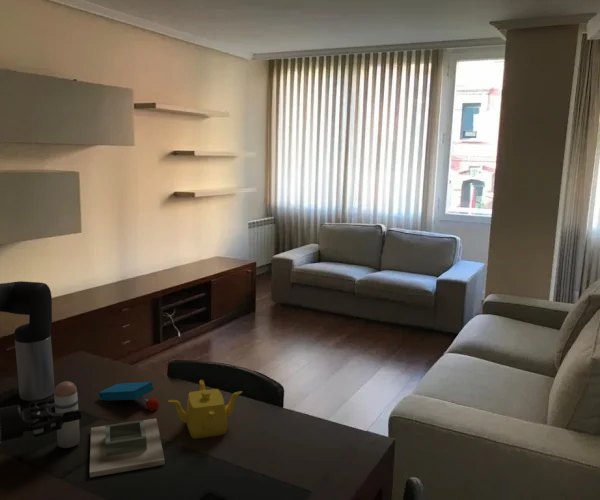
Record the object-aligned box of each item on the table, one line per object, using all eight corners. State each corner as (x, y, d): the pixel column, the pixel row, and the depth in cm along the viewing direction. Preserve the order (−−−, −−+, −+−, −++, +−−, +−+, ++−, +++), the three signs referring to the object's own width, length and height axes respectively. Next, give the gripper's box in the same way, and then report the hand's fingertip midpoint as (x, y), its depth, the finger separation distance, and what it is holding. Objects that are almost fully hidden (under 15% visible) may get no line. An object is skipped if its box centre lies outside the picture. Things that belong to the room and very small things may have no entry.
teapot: (212, 447, 132) (212, 410, 130) (166, 433, 138) (165, 397, 136) (244, 421, 145) (244, 387, 143) (201, 408, 151) (200, 376, 149)
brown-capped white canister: (58, 438, 133) (53, 379, 130) (80, 435, 135) (77, 376, 132) (56, 449, 128) (52, 388, 125) (80, 446, 130) (76, 385, 127)
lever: (104, 416, 155) (149, 415, 146) (98, 392, 155) (143, 390, 146) (122, 406, 161) (167, 405, 152) (117, 383, 161) (161, 381, 152)
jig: (91, 432, 138) (90, 416, 137) (156, 422, 143) (156, 407, 142) (89, 477, 119) (88, 460, 119) (164, 464, 125) (164, 447, 124)
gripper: (-3, 425, 116) (82, 407, 124) (-4, 397, 128) (73, 382, 137) (0, 456, 118) (84, 437, 126) (-1, 426, 130) (75, 410, 138)
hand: (78, 409), depth 131 cm, fingers closed on brown-capped white canister, 5 cm apart
